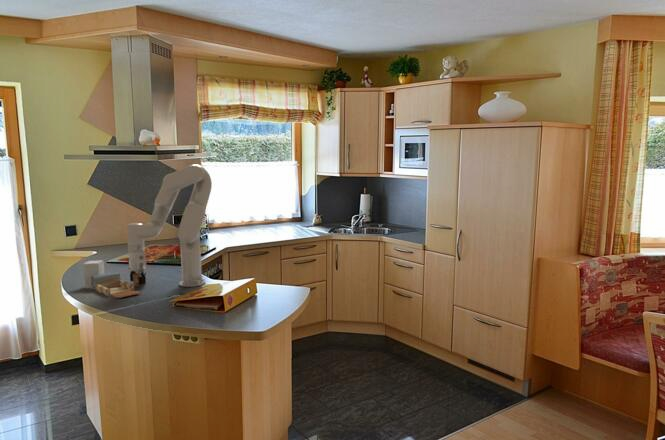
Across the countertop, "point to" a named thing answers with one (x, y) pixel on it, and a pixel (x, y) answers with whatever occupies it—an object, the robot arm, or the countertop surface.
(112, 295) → the panel
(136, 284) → the block
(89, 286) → the supplement box
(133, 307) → the countertop surface
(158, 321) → the countertop surface
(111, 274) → the truck bed
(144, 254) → the robot arm
